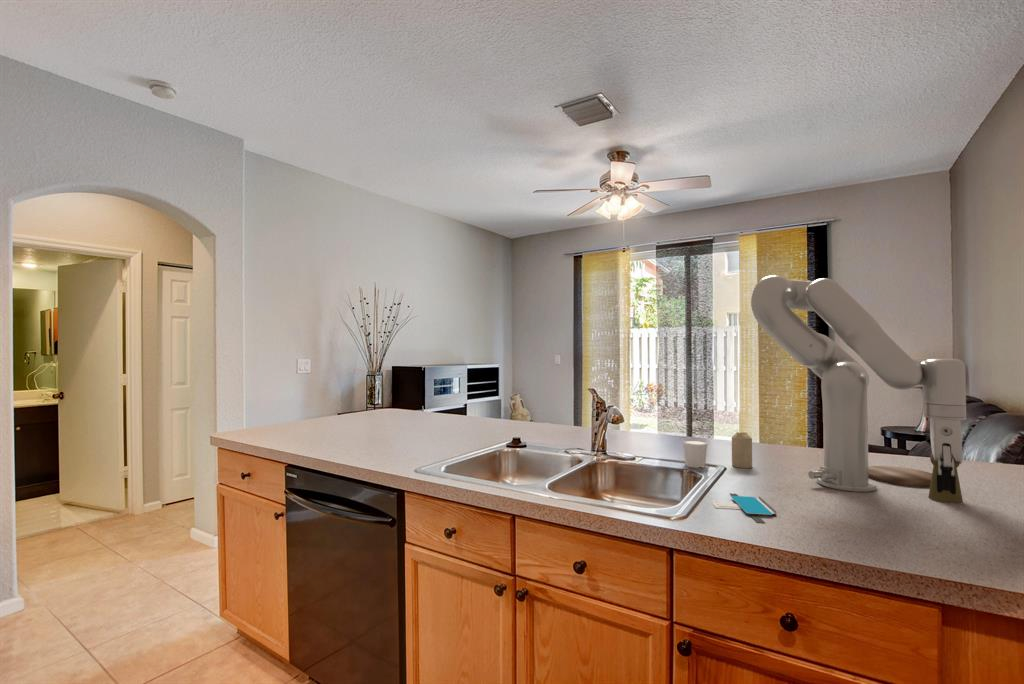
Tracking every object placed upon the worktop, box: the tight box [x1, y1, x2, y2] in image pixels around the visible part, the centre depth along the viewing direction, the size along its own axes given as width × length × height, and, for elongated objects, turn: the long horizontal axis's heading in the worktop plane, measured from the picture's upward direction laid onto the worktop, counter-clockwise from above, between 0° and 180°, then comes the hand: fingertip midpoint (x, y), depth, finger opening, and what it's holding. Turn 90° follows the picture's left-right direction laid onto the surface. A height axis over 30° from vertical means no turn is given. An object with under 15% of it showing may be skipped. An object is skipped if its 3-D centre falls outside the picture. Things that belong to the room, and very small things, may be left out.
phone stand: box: [711, 493, 777, 524], centre depth 109 cm, size 20×12×2 cm, turn 171°
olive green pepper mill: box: [928, 452, 964, 505], centre depth 114 cm, size 6×6×11 cm
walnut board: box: [868, 465, 932, 488], centre depth 132 cm, size 16×16×2 cm
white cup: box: [682, 440, 708, 469], centre depth 148 cm, size 7×7×7 cm
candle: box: [731, 431, 753, 469], centre depth 147 cm, size 6×6×10 cm
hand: (945, 489), depth 114 cm, fingers closed on olive green pepper mill, 3 cm apart
